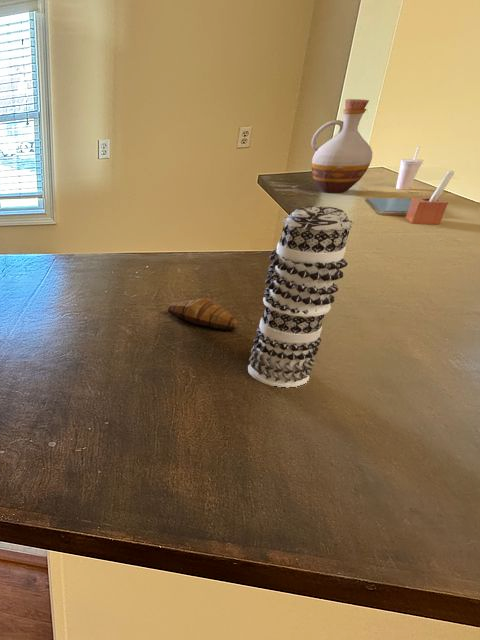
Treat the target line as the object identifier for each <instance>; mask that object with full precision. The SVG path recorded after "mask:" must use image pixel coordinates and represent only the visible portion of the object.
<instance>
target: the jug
mask: <svg viewBox="0 0 480 640" xmlns="http://www.w3.org/2000/svg"><path fill="white" fill-rule="evenodd" d="M344 102H345V103H344V105H345V106H344V107H345V108H344V109H343V110H342V113H343V120H340V119H334V120H330V121H328V122H326V123H325V124H323V125H322V126H320V127H319V128H318V129H317V130H316V131H315V132H314V134H313V137H312V138H311V148H312V150H314V151H315V152H314V155H313V157H312V159H311V174H312V179H313V181H314V182H315V185H316V187H317V188H318V189H319V191H320V192H321V193H326V194H327V193H328V194H343V193H346V192H347V191H349V190H350V189H351V188H352V187H353V186H354V185H356V184H357V183H358V182H359V181H360V180H361V179H362V178H363V176H364V175H365V173H367V171H368V169H369V167H370V166H371V163H372V160H373V150H372V147H371V146H370V144H369V143H368V142H367V141H366V139H364V137H363V136H362V135H361V133H360V132H359V125H360V122H361V119H362V118H363V115H364V114H365V113H366V111H367V108H366V107H367V106H368V103H369V102H370V100H369V99H359V98H348V99H345V101H344ZM335 125H338V126H339V130H338V132H337V133H336V134H335V135H334V136H333V137H331V138H330V139H329V140H327V141H326V142H325V143H322V144H321V145H317V140H318V137H319V135H320V134H321V133H323V131H325V130H326V129H327V128H329V127H331V126H335Z"/></svg>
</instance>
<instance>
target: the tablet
mask: <svg viewBox="0 0 480 640" xmlns="http://www.w3.org/2000/svg"><path fill="white" fill-rule="evenodd" d="M364 201H365V203H367V204H368V205H369V206H370V208H372V209H373V210H374V211H375V212H376V213H377V214H378V215H379V216H406V215H407V212H408V209H409V206H410V204H411V201H412V198H409V197H407V198H406V197H405V198H402V197H400V198H399V197H397V198H396V197H365V200H364Z"/></svg>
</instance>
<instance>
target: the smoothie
mask: <svg viewBox="0 0 480 640" xmlns="http://www.w3.org/2000/svg"><path fill="white" fill-rule="evenodd" d="M419 149H420V146H417V147H416V151H415V153H414V157H413V158H401V159H400V161H399V164H400V165H399V170H398V175H397V182H396V187H395V190H402V191H407V190H409V189H410V188H411V186H412V183H413V182H414V179H415V178H416V177H417V173H418V171H419V169H420V167H421V165H422V164H423V163H424V159H421V158H417V156H418V153H419Z"/></svg>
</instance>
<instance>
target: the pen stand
mask: <svg viewBox="0 0 480 640" xmlns="http://www.w3.org/2000/svg"><path fill="white" fill-rule="evenodd" d="M431 197H432V196H431ZM431 197H429V196H413V197H412V198H411V199H412V201H411V204H410V206H409V209H408V212H407V215H405V219H406V220H407V221H408V222H410V224H413V225H414V224H419V225H440V224H441V222H442V219H443V217H444V215H445V212H446V210H447V207H448V204H449V202H448V201H447V200H446V199H443V198H442V197H441V196H440V197H439V198H438V200H437V201H429V200H430V199H431Z"/></svg>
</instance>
